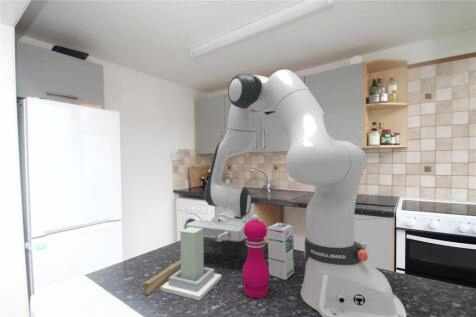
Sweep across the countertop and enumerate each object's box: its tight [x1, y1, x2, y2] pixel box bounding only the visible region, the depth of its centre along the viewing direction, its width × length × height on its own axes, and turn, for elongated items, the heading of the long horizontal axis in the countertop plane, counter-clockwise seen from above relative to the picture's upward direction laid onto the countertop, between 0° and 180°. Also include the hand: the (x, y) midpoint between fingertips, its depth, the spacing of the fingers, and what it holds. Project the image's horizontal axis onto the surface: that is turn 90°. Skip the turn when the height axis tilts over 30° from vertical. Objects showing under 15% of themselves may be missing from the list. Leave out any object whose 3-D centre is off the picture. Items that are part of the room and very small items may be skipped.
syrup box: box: [267, 222, 295, 281], centre depth 72 cm, size 6×6×14 cm
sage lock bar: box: [179, 227, 205, 281], centre depth 67 cm, size 4×4×14 cm
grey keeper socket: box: [159, 266, 223, 301], centre depth 67 cm, size 12×12×3 cm
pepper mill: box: [241, 214, 271, 299], centre depth 63 cm, size 7×7×20 cm
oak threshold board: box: [143, 259, 181, 296], centre depth 69 cm, size 2×15×3 cm, turn 157°
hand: (203, 237), depth 73 cm, fingers open, 8 cm apart
